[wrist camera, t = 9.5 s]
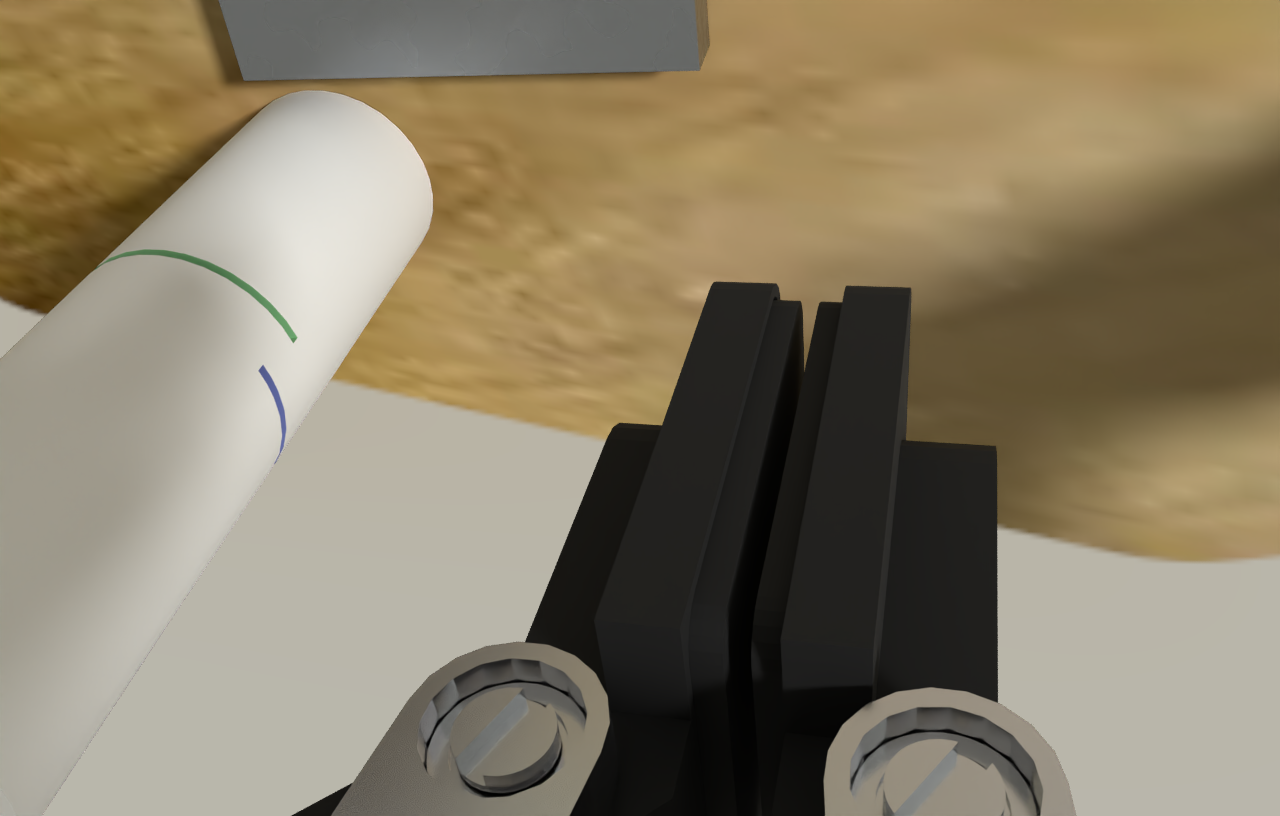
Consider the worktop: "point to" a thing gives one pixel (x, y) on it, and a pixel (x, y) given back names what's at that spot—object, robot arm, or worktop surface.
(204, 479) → the cylindrical container
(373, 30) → the breaker panel
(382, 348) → the worktop surface
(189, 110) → the worktop surface
